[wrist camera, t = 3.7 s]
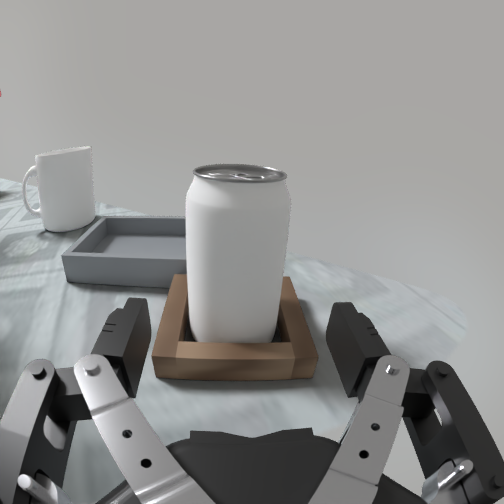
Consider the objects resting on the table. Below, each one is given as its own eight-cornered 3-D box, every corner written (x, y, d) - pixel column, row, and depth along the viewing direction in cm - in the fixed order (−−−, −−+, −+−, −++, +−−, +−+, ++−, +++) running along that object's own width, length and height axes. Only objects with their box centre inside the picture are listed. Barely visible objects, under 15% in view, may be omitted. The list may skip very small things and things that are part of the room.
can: (229, 298, 27) (234, 160, 22) (290, 329, 23) (313, 174, 18) (173, 331, 22) (163, 170, 17) (238, 375, 18) (248, 187, 13)
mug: (105, 221, 43) (101, 146, 38) (36, 243, 34) (25, 161, 29) (84, 210, 48) (79, 146, 43) (25, 227, 39) (16, 158, 34)
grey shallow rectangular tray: (67, 281, 26) (61, 255, 25) (105, 237, 37) (103, 215, 36) (199, 288, 28) (198, 259, 26) (206, 239, 39) (206, 216, 37)
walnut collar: (156, 377, 17) (151, 355, 17) (175, 293, 27) (174, 274, 26) (312, 377, 18) (318, 356, 18) (286, 295, 28) (289, 276, 27)
